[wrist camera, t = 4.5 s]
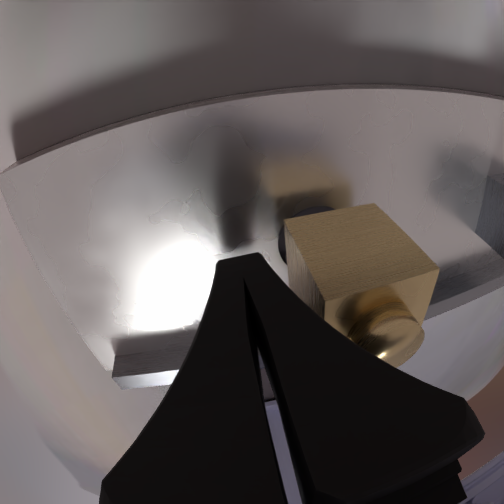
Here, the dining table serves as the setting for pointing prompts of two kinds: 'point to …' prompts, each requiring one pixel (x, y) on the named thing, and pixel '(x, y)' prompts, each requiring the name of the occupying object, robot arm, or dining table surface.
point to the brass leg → (362, 278)
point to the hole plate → (251, 203)
